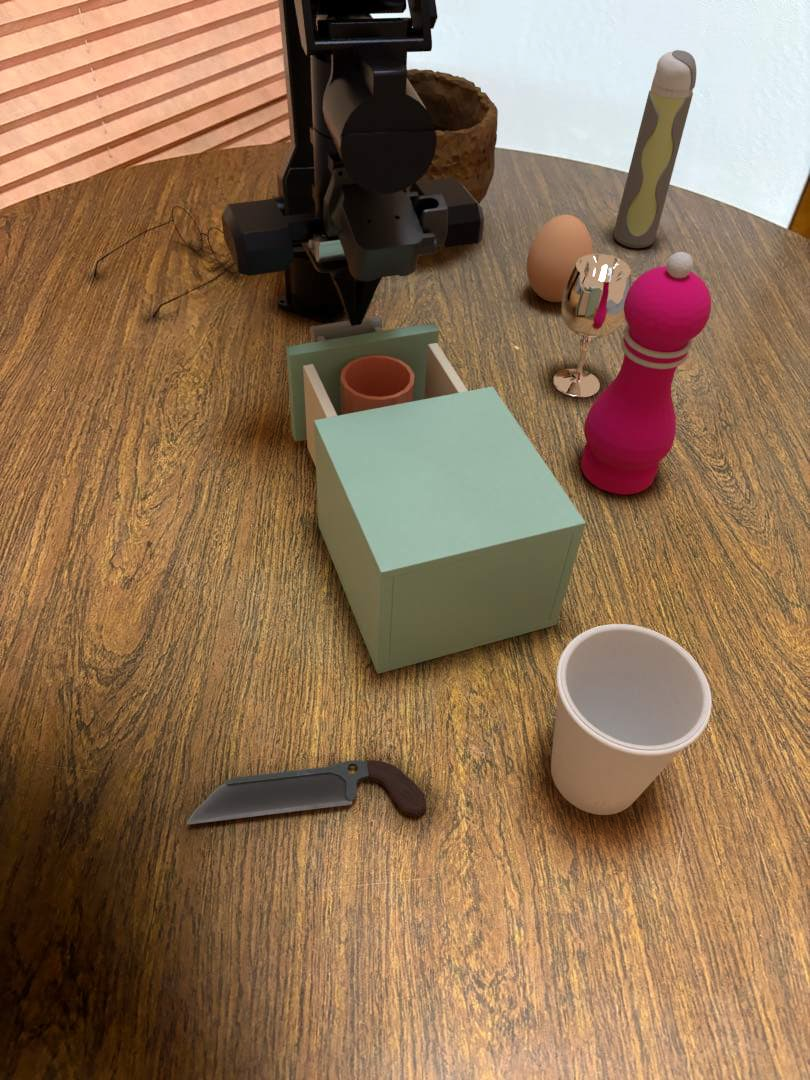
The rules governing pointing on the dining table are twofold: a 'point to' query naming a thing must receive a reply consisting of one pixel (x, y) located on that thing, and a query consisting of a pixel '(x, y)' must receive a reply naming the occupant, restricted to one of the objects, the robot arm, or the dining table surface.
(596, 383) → the wineglass
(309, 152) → the robot arm
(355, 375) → the cup
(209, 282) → the eyeglasses
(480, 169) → the bowl
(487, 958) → the dining table surface
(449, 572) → the cabinet
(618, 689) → the dixie cup
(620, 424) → the pepper mill
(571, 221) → the egg
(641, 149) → the grey yellow cylinder
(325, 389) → the drawer
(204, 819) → the knife
